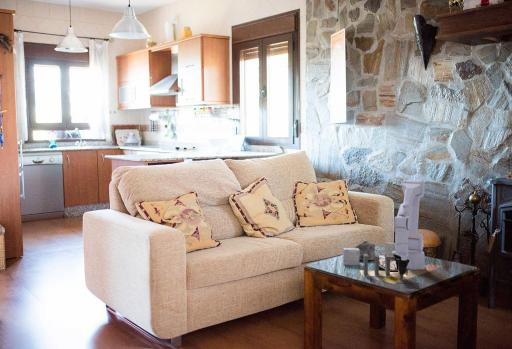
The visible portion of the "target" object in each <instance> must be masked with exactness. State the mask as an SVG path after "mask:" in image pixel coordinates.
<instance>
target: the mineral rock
mask: <svg viewBox="0 0 512 349" xmlns="http://www.w3.org/2000/svg"><path fill="white" fill-rule="evenodd" d="M354 248H358V249H359V251H360V252H359V261H363V258H364V254H367V255H368V261H374V254H376V252H375V251H376V245H375V242H368V241H367V240H365V241H364V240H363V241H362V242H361V243H359V244H357V245H356V246H354Z"/></svg>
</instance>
